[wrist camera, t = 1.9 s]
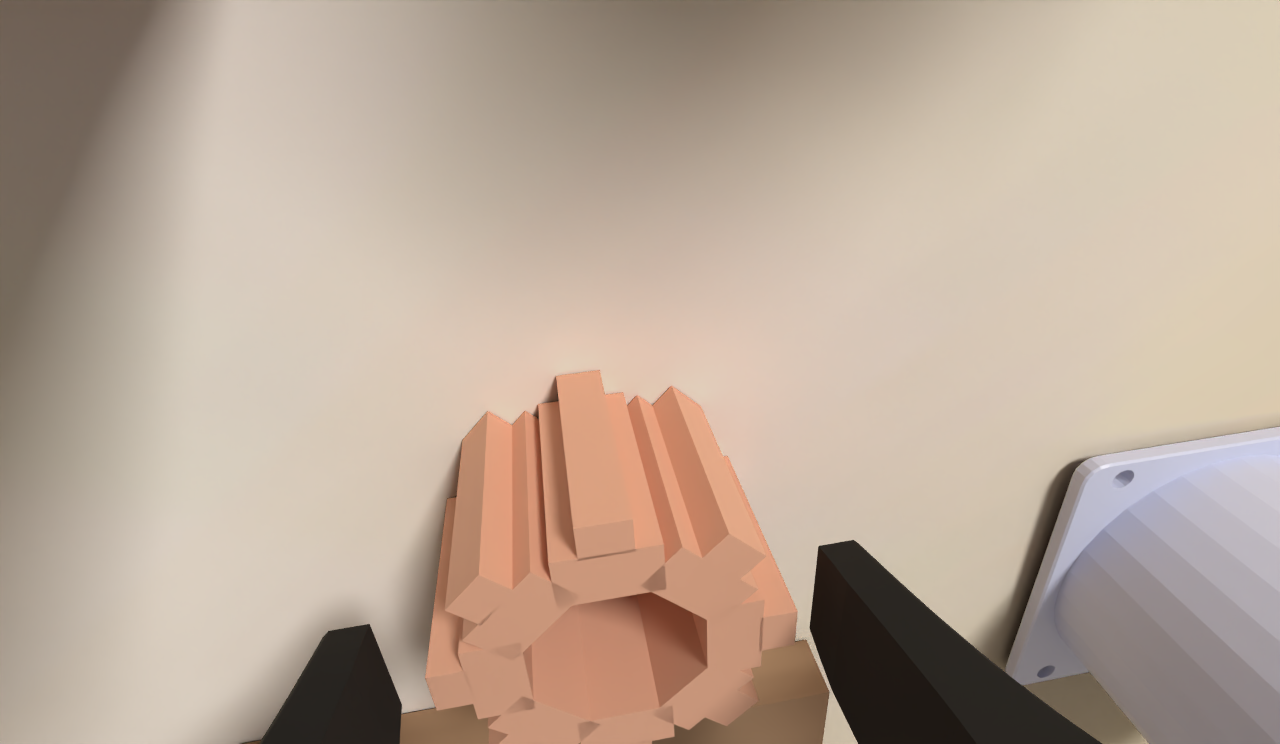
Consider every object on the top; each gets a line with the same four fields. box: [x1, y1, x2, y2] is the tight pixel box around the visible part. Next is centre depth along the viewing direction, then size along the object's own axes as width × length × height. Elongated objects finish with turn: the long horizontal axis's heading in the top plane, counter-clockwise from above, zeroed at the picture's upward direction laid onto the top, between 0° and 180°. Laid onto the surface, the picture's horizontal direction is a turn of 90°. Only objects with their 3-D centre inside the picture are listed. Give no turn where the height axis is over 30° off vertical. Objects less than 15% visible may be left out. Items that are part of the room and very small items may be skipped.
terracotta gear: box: [425, 370, 798, 744], centre depth 12 cm, size 6×6×4 cm
